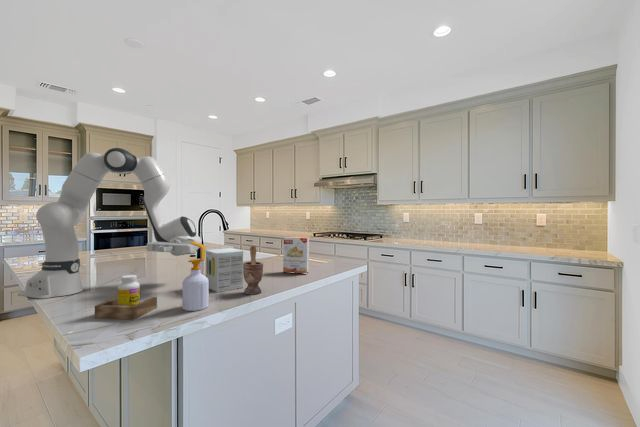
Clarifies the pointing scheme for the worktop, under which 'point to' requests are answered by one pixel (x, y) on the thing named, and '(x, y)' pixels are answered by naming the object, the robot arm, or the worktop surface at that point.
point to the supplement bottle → (128, 291)
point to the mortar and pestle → (252, 273)
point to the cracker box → (296, 254)
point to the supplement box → (224, 269)
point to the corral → (124, 309)
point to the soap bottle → (195, 286)
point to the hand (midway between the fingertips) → (160, 249)
